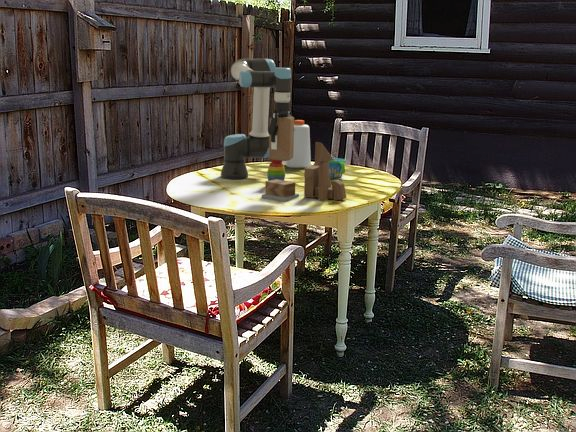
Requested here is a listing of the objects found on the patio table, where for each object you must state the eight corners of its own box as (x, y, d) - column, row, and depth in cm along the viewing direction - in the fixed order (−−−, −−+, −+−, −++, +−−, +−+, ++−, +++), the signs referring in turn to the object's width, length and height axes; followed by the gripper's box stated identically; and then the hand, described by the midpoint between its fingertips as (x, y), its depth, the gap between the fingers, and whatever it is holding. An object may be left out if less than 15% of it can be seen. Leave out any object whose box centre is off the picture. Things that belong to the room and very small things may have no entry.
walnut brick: (265, 193, 323) (265, 181, 322) (276, 191, 329) (276, 179, 328) (284, 197, 316) (284, 184, 315) (295, 194, 322) (295, 182, 321)
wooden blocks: (339, 204, 311) (341, 144, 305) (299, 199, 319) (301, 141, 312) (355, 194, 333) (358, 138, 326) (317, 190, 341) (319, 135, 334)
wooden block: (289, 161, 313) (290, 118, 308) (268, 159, 315) (269, 117, 310) (293, 158, 322) (294, 116, 317) (273, 156, 324) (274, 115, 320)
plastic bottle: (311, 168, 404) (312, 122, 398) (286, 167, 404) (287, 121, 397) (309, 164, 419) (311, 119, 412) (285, 163, 419) (286, 118, 412)
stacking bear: (289, 185, 353) (290, 151, 349) (282, 188, 344) (283, 154, 339) (270, 183, 356) (270, 150, 352) (263, 186, 347) (263, 152, 343)
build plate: (261, 197, 321) (261, 194, 321) (276, 193, 332) (276, 190, 331) (284, 201, 314) (284, 198, 314) (298, 196, 325) (298, 193, 325)
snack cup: (350, 179, 373) (350, 161, 371) (333, 180, 369) (333, 162, 367) (337, 174, 387) (338, 156, 385) (320, 175, 383) (321, 157, 381)
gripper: (274, 103, 300) (273, 151, 305) (302, 100, 320) (301, 145, 325) (261, 102, 304) (260, 149, 309) (289, 99, 324) (288, 144, 329)
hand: (281, 147), depth 317 cm, fingers closed on wooden block, 12 cm apart
